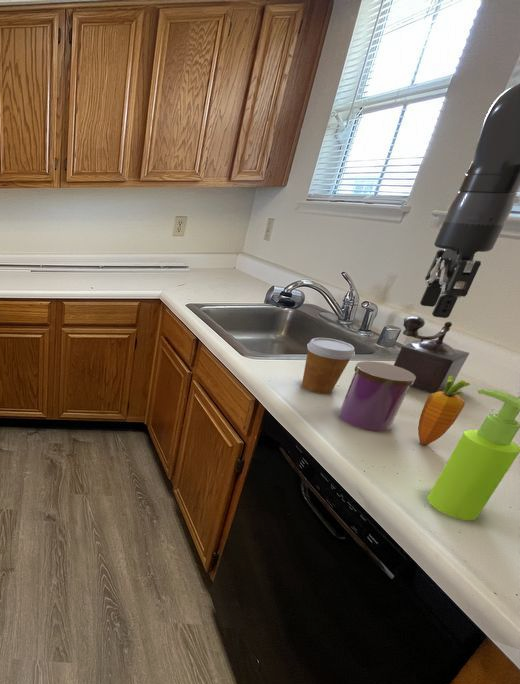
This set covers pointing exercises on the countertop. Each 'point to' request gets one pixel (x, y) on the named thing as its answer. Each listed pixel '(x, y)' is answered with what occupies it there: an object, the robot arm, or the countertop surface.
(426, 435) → the carrot
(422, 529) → the countertop surface
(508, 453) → the soap dispenser
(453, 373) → the brown manual coffee grinder
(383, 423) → the jar
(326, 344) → the disposable coffee cup
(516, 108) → the robot arm
